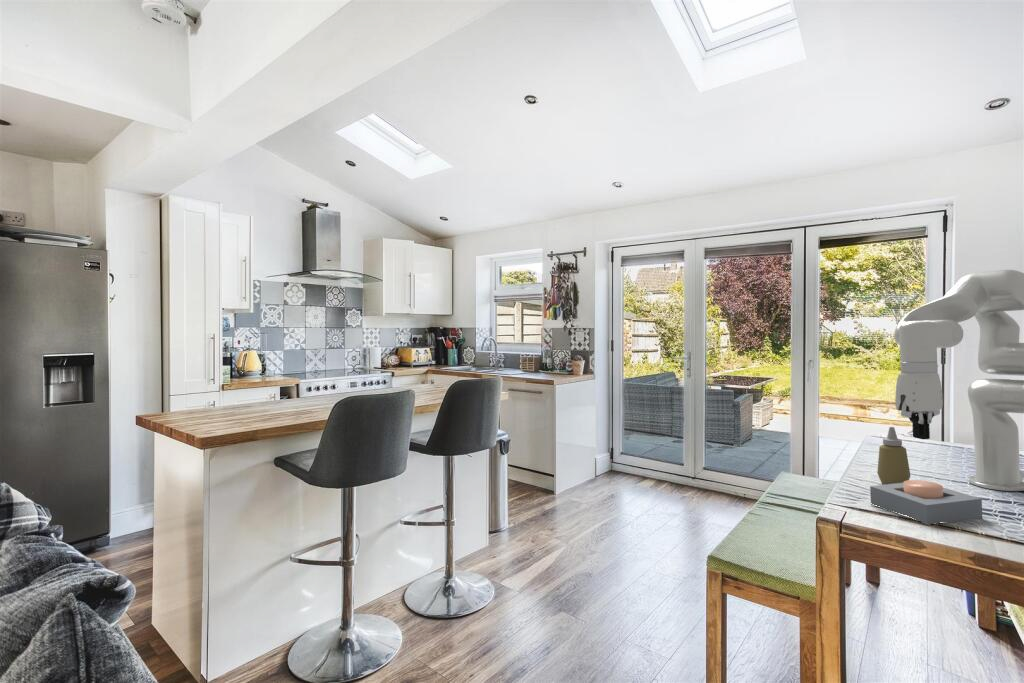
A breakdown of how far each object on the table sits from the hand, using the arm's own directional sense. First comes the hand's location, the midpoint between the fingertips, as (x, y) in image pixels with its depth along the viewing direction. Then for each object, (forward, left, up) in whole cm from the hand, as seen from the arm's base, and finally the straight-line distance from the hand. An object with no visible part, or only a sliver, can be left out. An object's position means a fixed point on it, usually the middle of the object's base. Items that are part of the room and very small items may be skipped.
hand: (921, 438), depth 131 cm
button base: (0, 0, -19) cm, 19 cm away
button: (0, 0, -17) cm, 17 cm away
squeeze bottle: (-11, -19, -20) cm, 29 cm away
